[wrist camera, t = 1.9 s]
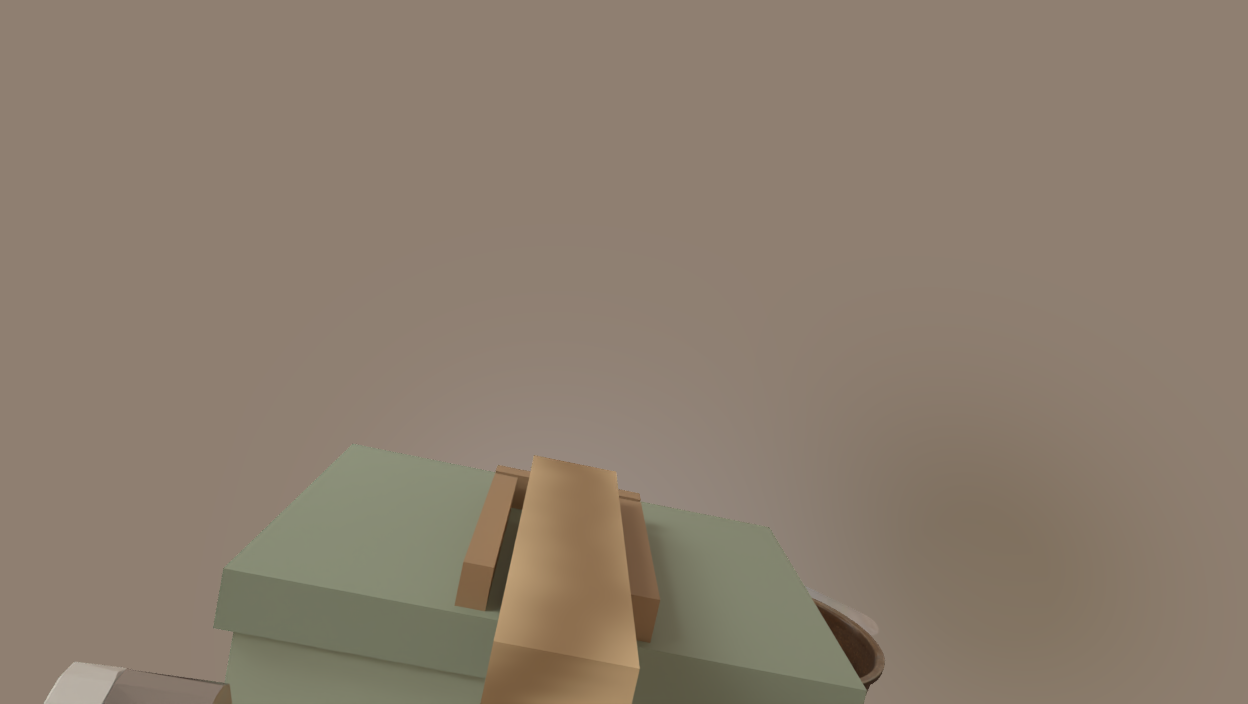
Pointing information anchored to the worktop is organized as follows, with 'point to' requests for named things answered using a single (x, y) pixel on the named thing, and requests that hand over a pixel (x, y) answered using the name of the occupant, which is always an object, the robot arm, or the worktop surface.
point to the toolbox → (501, 596)
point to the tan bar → (566, 596)
